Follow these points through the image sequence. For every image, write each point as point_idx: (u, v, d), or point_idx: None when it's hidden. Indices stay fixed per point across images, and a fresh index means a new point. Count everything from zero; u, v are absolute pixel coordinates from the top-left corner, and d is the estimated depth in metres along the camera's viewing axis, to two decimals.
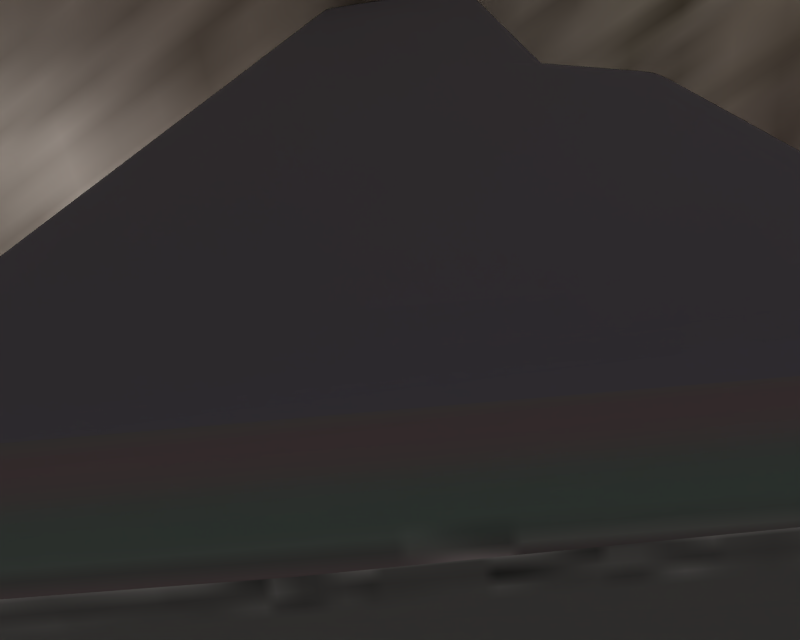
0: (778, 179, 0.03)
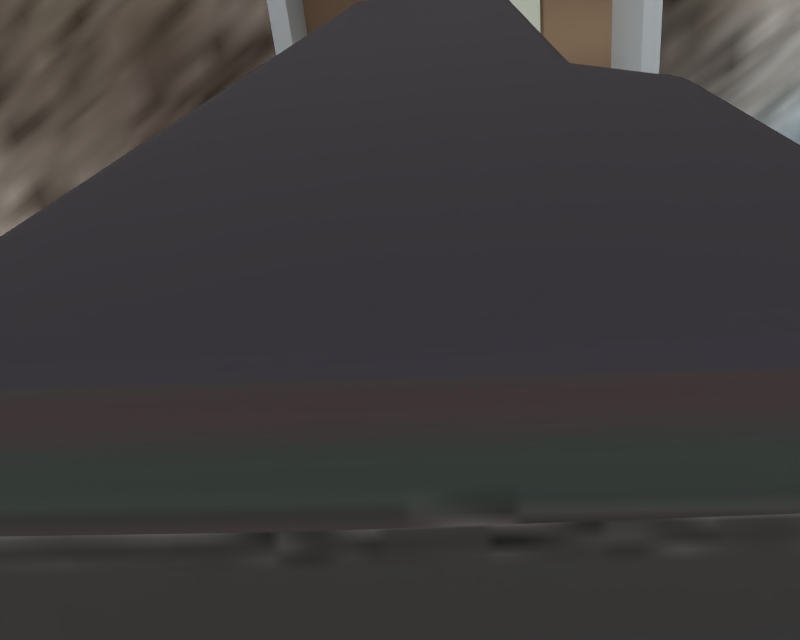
0: (798, 184, 0.03)
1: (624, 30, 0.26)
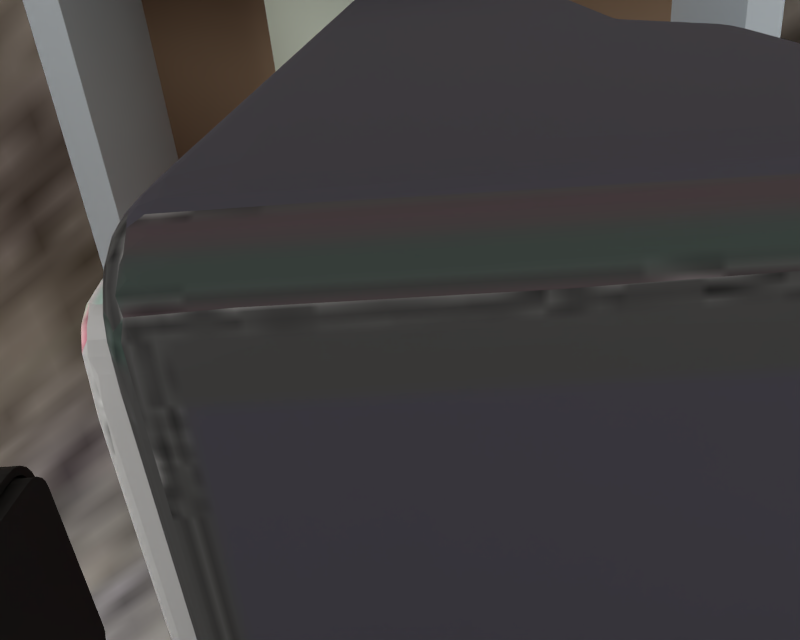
0: None
1: None
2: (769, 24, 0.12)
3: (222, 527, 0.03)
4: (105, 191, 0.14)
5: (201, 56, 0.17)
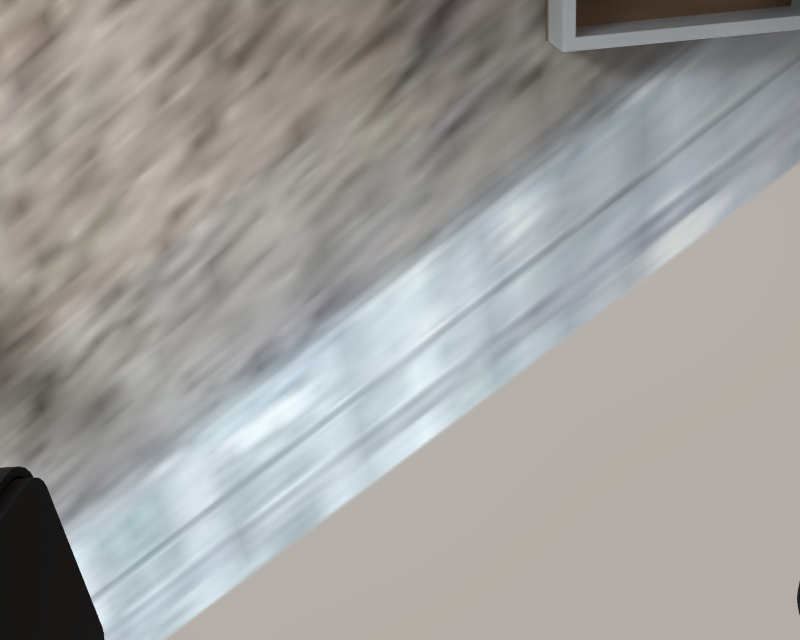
0: None
1: None
2: None
3: None
4: None
5: None
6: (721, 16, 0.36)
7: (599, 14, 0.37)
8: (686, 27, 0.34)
